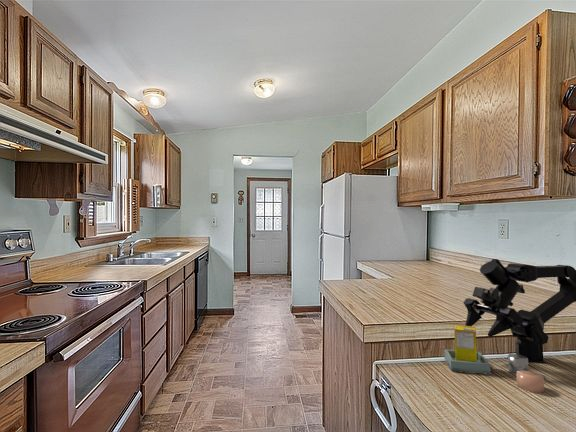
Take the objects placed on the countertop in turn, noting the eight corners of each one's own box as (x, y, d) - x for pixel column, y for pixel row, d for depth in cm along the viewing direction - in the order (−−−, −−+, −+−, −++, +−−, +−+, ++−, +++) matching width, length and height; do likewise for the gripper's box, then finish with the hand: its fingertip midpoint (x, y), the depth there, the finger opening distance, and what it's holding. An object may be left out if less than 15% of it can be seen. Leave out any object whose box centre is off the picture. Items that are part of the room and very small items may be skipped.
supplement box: (477, 361, 106) (476, 326, 107) (477, 367, 101) (476, 331, 102) (456, 358, 109) (455, 324, 110) (455, 364, 104) (454, 328, 105)
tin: (524, 369, 102) (523, 354, 102) (531, 376, 97) (531, 360, 98) (506, 368, 104) (505, 353, 104) (512, 374, 99) (511, 359, 99)
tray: (480, 361, 109) (479, 352, 109) (490, 374, 99) (490, 364, 99) (444, 358, 112) (444, 349, 112) (451, 371, 101) (450, 360, 102)
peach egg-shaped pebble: (538, 384, 92) (537, 371, 92) (548, 394, 86) (548, 380, 87) (513, 382, 94) (512, 369, 94) (522, 392, 88) (521, 378, 88)
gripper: (466, 274, 118) (440, 309, 115) (513, 281, 100) (484, 322, 97) (486, 295, 120) (461, 330, 116) (536, 306, 101) (508, 347, 98)
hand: (477, 331), depth 107 cm, fingers open, 9 cm apart
